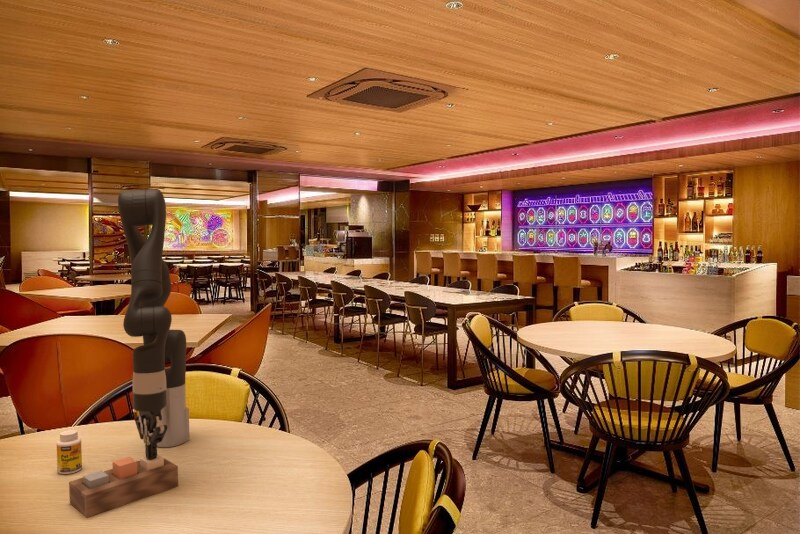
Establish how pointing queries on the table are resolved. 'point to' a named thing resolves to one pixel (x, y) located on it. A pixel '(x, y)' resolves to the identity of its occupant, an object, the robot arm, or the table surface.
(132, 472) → the terracotta key
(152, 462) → the ivory key
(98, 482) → the slate key
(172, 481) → the frame
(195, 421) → the table surface
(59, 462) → the supplement bottle
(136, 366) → the robot arm
